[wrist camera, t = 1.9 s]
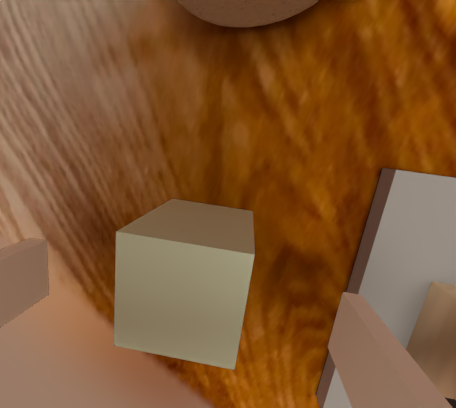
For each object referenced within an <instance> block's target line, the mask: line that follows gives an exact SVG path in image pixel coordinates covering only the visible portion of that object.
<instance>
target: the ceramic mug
mask: <svg viewBox="0 0 456 408" xmlns="http://www.w3.org/2000/svg"><path fill="white" fill-rule="evenodd" d="M177 1H178V2H179V3H180V4H181V5H182V6H183V7H184V8H185V9H186V10H187V11H189V12H190V13H192V14H193V15H195V16H196V17H198V18H200V19H202V20H205V21H207V22H210V23H212V24H215V25H220V26H225V27H254V26H262V25H267V24H271V23H274V22H278V21H282V20H285V19H287V18H289V17H292V16H294V15H296V14H299V13H300V12H302V11H304V10H306V9H307V8H309V7H311V6H313V5H314V4H316V3H317V2H318V1H319V0H177Z"/></svg>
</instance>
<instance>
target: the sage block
mask: <svg viewBox="0 0 456 408" xmlns="http://www.w3.org/2000/svg"><path fill="white" fill-rule="evenodd" d="M254 256H255V248H254V222H253V211H249V210H243V209H236V208H230V207H223V206H217V205H211V204H204V203H198V202H191V201H185V200H178V199H171V200H169V201H167V202H165V203H164V204H162V205H160V206H159V207H157V208H155V209H154V210H152V211H150V212H148V213H147V214H145V215H143V216H142V217H140V218H138V219H136V220H135V221H133V222H131V223H130V224H128V225H126V226H125V227H123V228H121V229H119V230H118V231H116V260H115V315H114V346H119V347H124V348H129V349H133V350H139V351H143V352H148V353H153V354H158V355H163V356H168V357H173V358H178V359H183V360H188V361H193V362H198V363H203V364H208V365H213V366H218V367H223V368H228V369H233V370H235V364H236V358H237V353H238V347H239V341H240V336H241V330H242V324H243V319H244V313H245V307H246V302H247V296H248V290H249V285H250V279H251V273H252V268H253V262H254Z"/></svg>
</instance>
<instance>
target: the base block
mask: <svg viewBox="0 0 456 408" xmlns="http://www.w3.org/2000/svg"><path fill="white" fill-rule="evenodd" d="M406 350H407V352H408V353H409V354H410V355H411V357H412V358H413V359H414V360H415V362H416V363H417V364H418V365H419V367H420V368H421V369H422V370H423V372H424V373H425V374H426V375H427V376H428V378H429V379H430V380H431V381H432V383H433V384H434V385H435V386H436V388H437V389H438V390H439V391H440V393H441V394H442V395H443V396H444V397H445V398H450V399H455V400H456V285H452V284H446V283H440V282H434V281H432V283H431V286H430V288H429V291H428V294H427V296H426V299H425V301H424V304H423V306H422V309H421V312H420V314H419V317H418V319H417V322H416V324H415V327H414V329H413V332H412V335H411V337H410V340H409V342H408V345H407V347H406Z"/></svg>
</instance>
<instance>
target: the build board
mask: <svg viewBox="0 0 456 408" xmlns="http://www.w3.org/2000/svg"><path fill="white" fill-rule="evenodd" d="M432 281H434V282H440V283H446V284H452V285H456V178H453V177H445V176H438V175H431V174H424V173H416V172H409V171H402V170H394V169H386V168H382V172H381V175H380V178H379V182H378V185H377V189H376V192H375V195H374V199H373V202H372V206H371V209H370V213H369V216H368V219H367V223H366V226H365V230H364V233H363V236H362V240H361V243H360V247H359V250H358V254H357V257H356V260H355V264H354V267H353V271H352V274H351V277H350V281H349V284H348V288H347V291H346V292H347V293H353V294H359V295H362V296H363V297H364V299H365V300H366V301H367V302H368V303H369V305H370V306H371V307H372V308H373V310H374V311H375V312H376V313H377V315H378V316H379V317H380V318H381V320H382V321H383V322H384V323H385V325H386V326H387V327H388V328H389V329H390V331H391V332H392V333H393V334H394V336H395V337H396V338H397V339H398V341H399V342H400V343H401V344H402V346H403V347H404V348H405V349H406V347H407V345H408V342H409V340H410V337H411V335H412V332H413V329H414V327H415V324H416V322H417V319H418V317H419V314H420V312H421V309H422V306H423V304H424V301H425V299H426V296H427V294H428V291H429V288H430V286H431V283H432ZM316 395H317V399H318V402H319V406H320V408H352V406H351V403H350V401H349V398H348V396H347V393H346V391H345V389H344V386H343V384H342V381H341V379H340V376H339V374H338V371H337V369H336V367H335V364H334V362H333V359H332V357H331V354H330V352H329V353H328V356H327V359H326V363H325V366H324V370H323V373H322V377H321V380H320V383H319V387H318V390H317V394H316Z"/></svg>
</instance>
